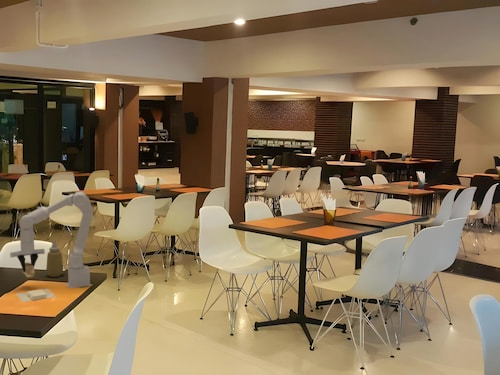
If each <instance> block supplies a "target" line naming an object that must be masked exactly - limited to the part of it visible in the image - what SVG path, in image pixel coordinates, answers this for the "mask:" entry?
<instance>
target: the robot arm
mask: <svg viewBox="0 0 500 375" xmlns="http://www.w3.org/2000/svg"><path fill="white" fill-rule="evenodd" d="M73 205H74V206H75V207H77V209H79V210H80V212H81V213H82V216H81V219H80V223H79V226H78V232H77V234H76V235H77V236H76V238H75V242H74V245H73V249H72V251H71V252H70V254H69V255H68V264H69V265H68V266H67V278H68V282H67V283H65V285H66V286H67V287H68V288H70V289H75V288H82V287H90V286H91V273H90V272H91V271H90V267H89V266H88V265H85V264H84V260H83V258H84V250H85V246H86V242H87V240H88V235H89V231H90V226H91V224H92V220H93V216H94V209H93V206H92V204H91V201H90V198H89V196H87V194H86V193H85V192H84V191H76V192H75V193H70V194H68V195H66V196H64V197H63V198H60V199H58V200H57V201H56V202H54V203H52V204H51V205H48V206H37V207H36V209H35V210H33V211H31V212H27V214H24V215H23V216H22V217H21V218H20V219H19V223H18V224H19V226H20V229H19V231H20V232H19V233H20V234H19V236H20V250H18V251H11V252H9V253H10V254H9V256H10V258H12V259H13V258H16V257H17V259H18V260H19V263H20V267H21V270H22V269H23V272H25V262H26V257H25V256H29V257H30V264H32V265H33V266H34V267H35V265H36V263H37V260H38V258H39V255H45V254H46V253H45V251H46V250H45V248H39V249H35V232H34V225H37V224H39V223H40V222H42V221H45V220H46V219H48V218H50V215H51V214H52V213H53V212H56V211H58V210H60V209H62V208H65V207H66V206H67V207H73Z"/></svg>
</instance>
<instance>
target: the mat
mask: <svg viewBox="0 0 500 375" xmlns="http://www.w3.org/2000/svg"><path fill="white" fill-rule="evenodd" d="M42 290H43V291H44V292H45V293H46V294H47V298H44V299H43V300H45V299H53V298H57V296H56V295H55V294H54V293H53V292H52V291H51V290H50V289H48V288H45V289H42ZM15 295H16V297H18V299H19V300H20V301H21V303H28V302H32V301H33V302H34V301H35V300H32V299H31V298H30V297H29V296H28V295H27V291H24V292H18V293H15ZM39 300H40V301H41V300H42V299H37V300H36V301H39Z"/></svg>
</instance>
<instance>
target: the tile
mask: <svg viewBox="0 0 500 375" xmlns="http://www.w3.org/2000/svg"><path fill="white" fill-rule="evenodd" d="M43 290H44V289H42V288H41V289H34V290H33V289H32V290H28V291H26V292H27V295H28V296H29V297H30V298H31V299H32V300H34V301H38V300H37V299H41V300H45V299H44V298H47V294H46V293H45V292H44V291H43ZM47 299H48V298H47Z"/></svg>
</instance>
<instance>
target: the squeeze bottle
mask: <svg viewBox="0 0 500 375" xmlns="http://www.w3.org/2000/svg"><path fill="white" fill-rule="evenodd" d="M48 249H49V251H48V252H47V255H46V257H47V258H46V272H47V274H48V277H50V278H58V277H61V276H62V275H63V272H64V262H63V256H62V253H63V252H61V251H60V247H59V246H58V244H57V241H56V240H55V239H53V240H52V244H51V247H49V248H48Z"/></svg>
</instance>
